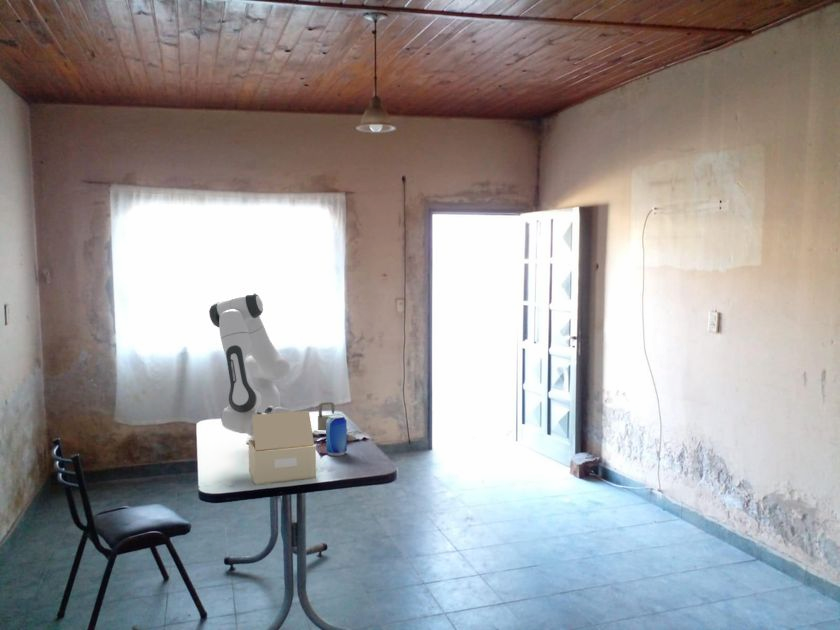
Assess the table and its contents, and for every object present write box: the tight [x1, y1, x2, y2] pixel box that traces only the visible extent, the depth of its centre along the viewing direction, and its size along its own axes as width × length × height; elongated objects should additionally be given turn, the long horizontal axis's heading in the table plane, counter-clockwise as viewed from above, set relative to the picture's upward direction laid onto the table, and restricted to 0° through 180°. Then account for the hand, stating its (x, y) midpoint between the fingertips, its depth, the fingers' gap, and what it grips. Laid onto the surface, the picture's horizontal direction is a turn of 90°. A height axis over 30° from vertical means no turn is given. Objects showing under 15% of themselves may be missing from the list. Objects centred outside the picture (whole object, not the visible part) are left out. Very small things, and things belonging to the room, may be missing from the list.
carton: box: [248, 440, 317, 486], centre depth 250 cm, size 18×22×12 cm
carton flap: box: [252, 410, 315, 451], centre depth 245 cm, size 14×21×1 cm
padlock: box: [317, 401, 336, 431], centre depth 312 cm, size 4×8×15 cm, turn 103°
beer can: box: [325, 413, 348, 457], centre depth 278 cm, size 8×8×16 cm
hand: (296, 435), depth 258 cm, fingers closed
